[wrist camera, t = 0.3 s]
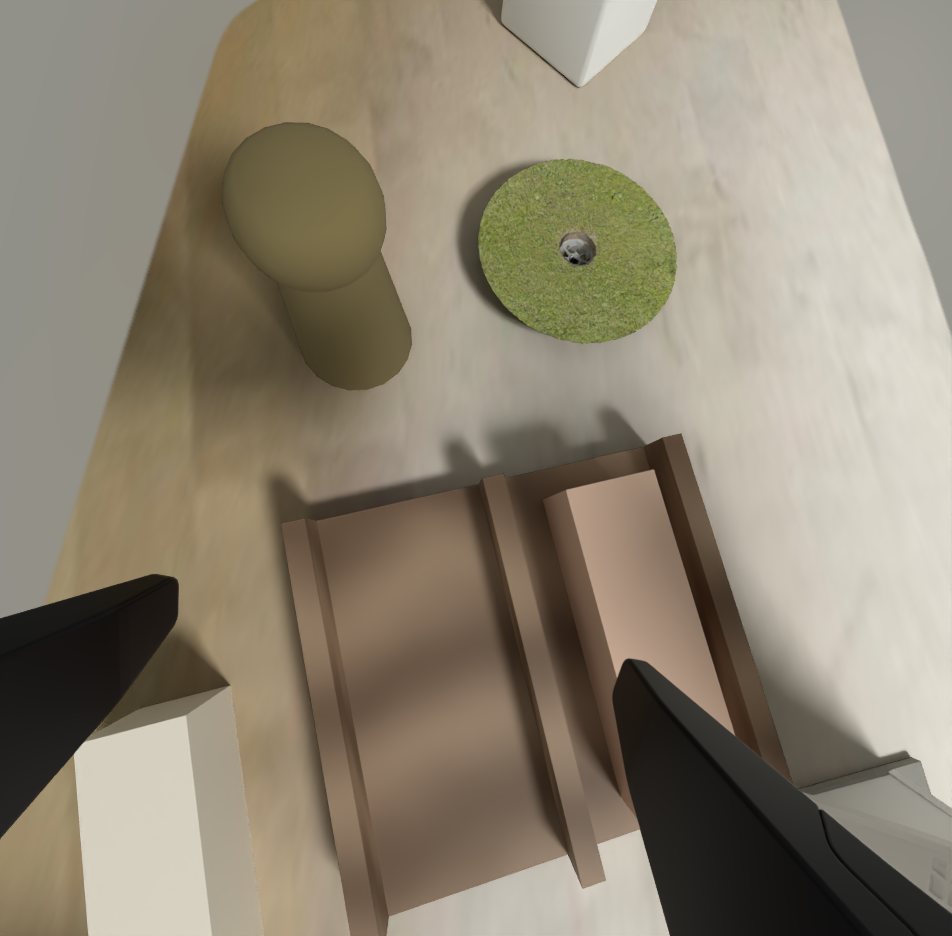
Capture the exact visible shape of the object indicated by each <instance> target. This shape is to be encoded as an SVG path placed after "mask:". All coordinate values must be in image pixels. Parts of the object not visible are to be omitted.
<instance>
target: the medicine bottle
mask: <svg viewBox="0 0 952 936" xmlns="http://www.w3.org/2000/svg"><path fill="white" fill-rule="evenodd" d="M656 2H657V0H503V6H502V14H501V21H502V23H503V25H504V26H506V27H507V28H508V29H509V30H510V31H512V32H513V33H514V34H515V35H516V36H517V37H519V38H520V39H521V40H522V41H523V42H525V43H526V44H527V45H528V46H529V47H531V48H532V49H533V50H534V51H535V52H537V53H538V54H539V55H540V56H541V57H543V58H544V59H545V60H546V61H547V62H548V63H550V64H551V65H552V66H553V67H554V68H556V69H557V70H558V71H559V72H560V73H562V74H563V75H564V76H565V77H566V78H568V79H569V80H570V81H571V82H572V83H574V84H575V85H576V86H577V87H582V86H584V85H585V84H586V83H587V82H589V81H590V80H591V79H592V78H593V77H594V76H595V75H596V74H598V73H599V72H600V71H601V70H602V69H603V68H604V67H605V66H607V65H608V64H609V63H610V62H611V61H612V60H613V59H614V58H616V57H617V56H618V55H619V54H620V53H621V52H622V51H624V50H625V49H626V48H627V47H628V46H629V45H630V44H631V43H633V42H634V41H635V40H636V39H637V38H638V37H639V36H640V35H642V34H643V32H644V31H645V29H646V27H647V24H648V22H649V19H650V17H651V14H652V12H653V10H654V7H655V5H656Z"/></svg>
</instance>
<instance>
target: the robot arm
mask: <svg viewBox="0 0 952 936" xmlns="http://www.w3.org/2000/svg"><path fill="white" fill-rule="evenodd" d="M178 597H179V584H178V580H177V579H176V578H175V577H170V576H165V575H159V574H151V575H148V576H144V577H141V578H137V579H134V580H130V581H127V582H124V583H120V584H117V585H113V586H110V587H106V588H103V589H100V590H96V591H93V592H89V593H86V594H82V595H79V596H75V597H72V598H69V599H65V600H62V601H58V602H55V603H51V604H48V605H45V606H41V607H38V608H35V609H31V610H27V611H24V612H21V613H17V614H14V615H11V616H7V617H3V618H0V839H1V837H2V836H3V835H4V834H5V833H6V832H7V830H8V829H9V828H10V827H11V826H12V825H13V824H14V822H15V821H16V820H17V819H18V818H19V817H20V815H21V814H22V813H23V812H24V811H25V810H26V809H27V807H28V806H29V805H30V804H31V803H32V802H33V800H34V799H35V798H36V797H37V796H38V795H39V794H40V792H41V791H42V790H43V789H44V788H45V787H46V786H47V784H48V783H49V782H50V781H51V780H52V779H53V777H54V776H55V775H56V774H57V773H58V772H59V771H60V769H61V768H62V767H63V766H64V765H65V764H66V762H67V761H68V760H69V759H70V758H71V757H72V756H73V754H74V753H75V752H76V751H77V750H78V749H79V747H80V746H81V745H82V744H83V743H84V742H85V741H86V739H87V738H88V737H89V736H90V735H91V734H92V732H93V731H94V730H95V729H96V728H97V727H98V726H99V724H100V723H101V722H102V721H103V720H104V719H105V717H106V716H107V715H108V714H109V713H110V712H111V710H112V709H113V708H114V707H115V706H116V704H117V703H118V702H119V701H120V700H121V698H122V697H123V696H124V694H125V693H126V692H127V691H128V689H129V688H130V687H131V685H132V684H133V682H134V681H135V680H136V678H137V677H138V675H139V674H140V673H141V671H142V670H143V668H144V667H145V666H146V664H147V663H148V661H149V660H150V659H151V657H152V656H153V655H154V653H155V652H156V650H157V649H158V648H159V646H160V645H161V643H162V642H163V641H164V639H165V638H166V636H167V635H168V634H169V632H170V631H171V629H172V628H173V626H174V625H175V623H176V620H177V617H178ZM612 703H613V709H614V714H615V720H616V725H617V731H618V736H619V742H620V748H621V753H622V759H623V764H624V770H625V774H626V779H627V784H628V787H629V791H630V795H631V799H632V802H633V806H634V809H635V813H636V817H637V820H638V824H639V827H640V831H641V834H642V838H643V841H644V845H645V849H646V852H647V856H648V859H649V863H650V866H651V870H652V873H653V877H654V881H655V884H656V888H657V891H658V895H659V898H660V902H661V905H662V909H663V913H664V916H665V920H666V923H667V927H668V930H669V934H670V936H952V913H951V912H949V911H948V910H947V909H946V908H944V907H943V906H942V905H940V904H939V903H938V902H936V901H935V900H934V899H933V898H931V897H930V896H929V895H928V894H926V893H925V892H924V891H922V890H921V889H920V888H919V887H917V886H916V885H915V884H914V883H912V882H911V881H910V880H908V879H907V878H906V877H905V876H903V875H902V874H901V873H900V872H898V871H897V870H896V869H894V868H893V867H892V866H891V865H889V864H888V863H887V862H886V861H884V860H883V859H882V858H881V857H879V856H878V855H877V854H876V853H875V852H873V851H872V850H871V849H870V848H869V847H867V846H866V845H865V844H864V843H862V842H861V841H860V840H859V839H858V838H856V837H855V836H854V835H853V834H851V833H850V832H849V831H848V830H847V829H845V828H844V827H843V826H842V825H841V824H839V823H838V822H837V821H836V820H835V819H834V818H832V817H831V816H830V815H829V814H828V813H827V812H825V811H824V810H822V809H819V808H818V806H817V804H816V803H814V802H813V801H812V800H811V799H810V798H808V797H807V796H806V795H805V794H804V793H803V792H801V791H800V790H799V789H798V788H797V787H795V786H794V785H793V784H792V783H791V782H789V781H788V780H787V779H786V778H785V777H783V776H782V775H781V774H780V773H779V772H778V771H776V770H775V769H774V768H773V767H772V766H770V765H769V764H768V763H767V762H766V761H764V760H763V759H762V758H761V757H760V756H758V755H757V754H756V753H755V752H754V751H753V750H751V749H750V748H749V747H748V746H747V745H745V744H744V743H743V742H742V741H741V740H739V739H738V738H737V737H736V736H735V735H733V734H732V733H731V732H730V731H729V730H728V729H726V728H725V727H724V726H723V725H722V724H720V723H719V722H718V721H717V720H716V719H714V718H713V717H712V716H711V715H710V714H708V713H707V712H706V711H705V710H704V709H703V708H701V707H700V706H699V705H698V704H697V703H695V702H694V701H693V700H692V699H691V698H689V697H688V696H687V695H686V694H685V693H684V692H682V691H681V690H680V689H679V688H678V687H676V686H675V685H674V684H673V683H672V682H670V681H669V680H668V679H667V678H666V677H664V676H663V675H662V674H661V673H660V672H659V671H657V670H656V669H655V668H654V667H653V666H651V665H650V664H649V663H648V662H646V661H643V660H637V659H632V658H627V659H625V660H624V662H623V664H622V666H621V669H620V672H619V674H618V677H617V680H616V683H615V686H614V688H613V693H612Z"/></svg>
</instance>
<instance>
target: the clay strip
mask: <svg viewBox="0 0 952 936" xmlns="http://www.w3.org/2000/svg"><path fill="white" fill-rule="evenodd" d="M74 760H75V772H76V785H77V798H78V810H79V823H80V835H81V848H82V861H83V873H84V886H85V898H86V911H87V924H88V936H264V931H263V924H262V916H261V909H260V901H259V894H258V886H257V879H256V871H255V864H254V856H253V849H252V842H251V834H250V827H249V819H248V812H247V804H246V797H245V789H244V782H243V774H242V767H241V760H240V752H239V745H238V737H237V730H236V722H235V715H234V707H233V700H232V692H231V685H230V686H226V687H222V688H218V689H214V690H210V691H206V692H202V693H199V694H195V695H191V696H187V697H183V698H179V699H175V700H171V701H168V702H164V703H160V704H156V705H152V706H148V707H144V708H140V709H138V710H136V711H134V712H133V713H131V714H129V715H127V716H125V717H123V718H122V719H120V720H118V721H116V722H114V723H112V724H111V725H109V726H107V727H105V728H103V729H101V730H100V731H98V732H96V733H94V734H92V735H90V736H89V737H88V738H87V739H86V741H85V742H84V743H83V744H82V745H81V746H80V747H79V749H78V750H77V751H76V752H75V753H74Z"/></svg>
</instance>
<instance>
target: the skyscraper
mask: <svg viewBox="0 0 952 936" xmlns="http://www.w3.org/2000/svg"><path fill="white" fill-rule="evenodd" d="M799 790H800V791H801V792H803V793H804V794H805V795H806V796H807V797H808V798H810V799H811V800H812V801H813V802H814V803H816V804H817V806H818V808H819V809H822V810H824V811H825V812H827V813H828V814H829V815H830V816H831V817H832V818H834V819H835V820H836V821H837V822H838V823H839V824H841V825H842V826H843V827H844V828H845V829H847V830H848V831H849V832H850V833H851V834H853V835H854V836H855V837H856V838H858V839H859V840H860V841H861V842H862V843H864V844H865V845H866V846H867V847H869V848H870V849H871V850H872V851H873V852H875V853H876V854H877V855H878V856H879V857H881V858H882V859H883V860H884V861H886V862H887V863H888V864H889V865H891V866H892V867H893V868H894V869H896V870H897V871H898V872H900V873H901V874H902V875H903V876H905V877H906V878H907V879H908V880H910V881H911V882H912V883H914V884H915V885H916V886H917V887H919V888H920V889H921V890H922V891H924V892H925V893H926V894H928V895H929V896H930V897H931V898H933V899H934V900H935V901H936V902H938V903H939V904H940V905H942V906H943V907H944V908H946V909H947V910H948V911H949V912H951V913H952V808H950V807H949V806H947V805H946V804H945V803H943V802H942V801H940V800H939V799H937V798H936V797H934V796H933V795H931V792H930V789H929V786H928V783H927V780H926V777H925V773H924V770H923V767H922V764H921V761H919V760H917V759H914V758H912V757H911V758H907V759H904V760H900V761H897V762H893V763H889V764H886V765H882V766H879V767H875V768H872V769H868V770H865V771H861V772H857V773H854V774H850V775H847V776H843V777H840V778H836V779H833V780H829V781H826V782H822V783H818V784H815V785H811V786H808V787H804V788H801V789H799Z"/></svg>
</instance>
